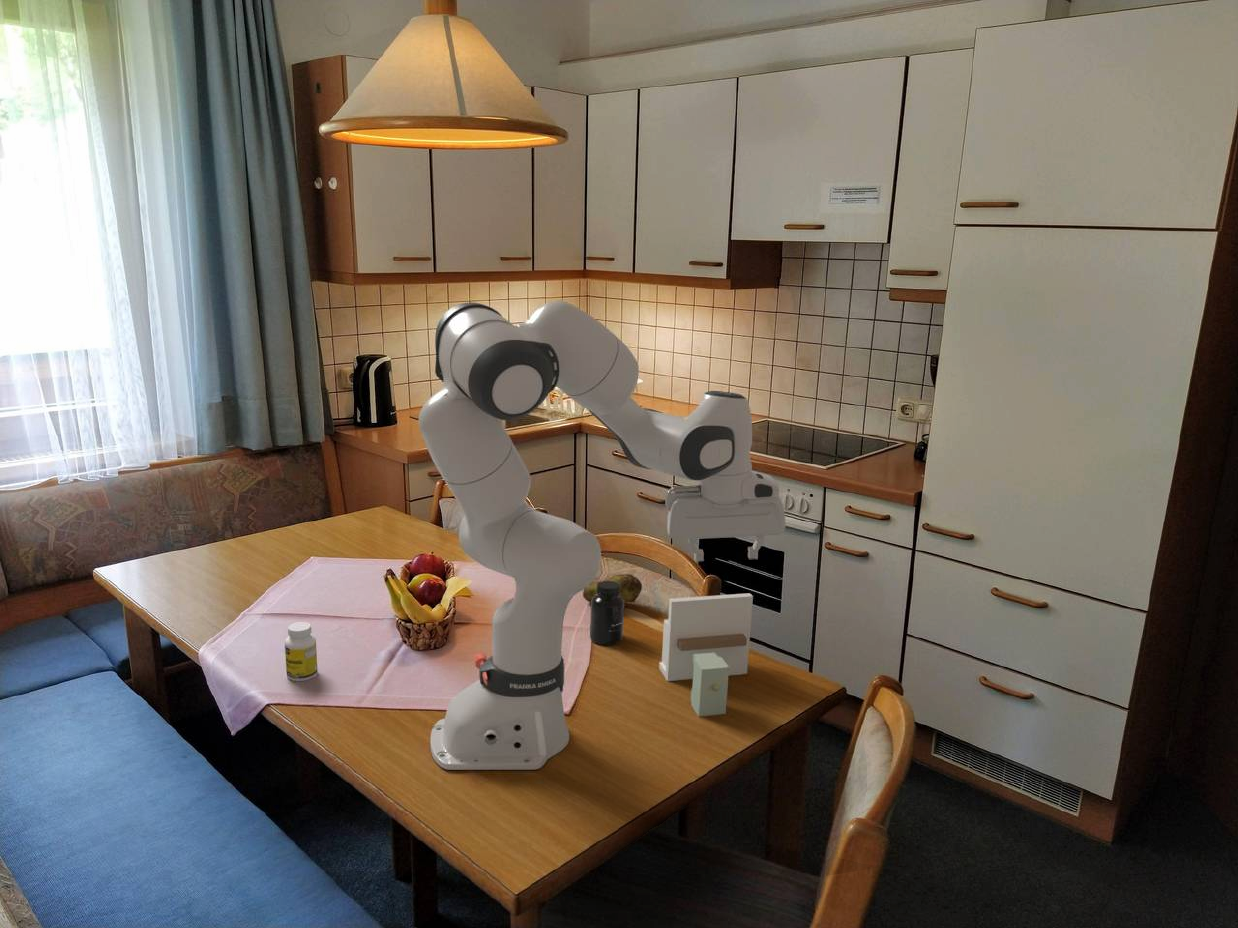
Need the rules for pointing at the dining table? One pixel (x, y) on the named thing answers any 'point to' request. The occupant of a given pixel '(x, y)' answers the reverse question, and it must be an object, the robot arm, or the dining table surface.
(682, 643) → the wall board
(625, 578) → the potato
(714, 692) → the pale green box
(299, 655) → the supplement bottle
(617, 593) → the supplement bottle
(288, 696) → the dining table surface
